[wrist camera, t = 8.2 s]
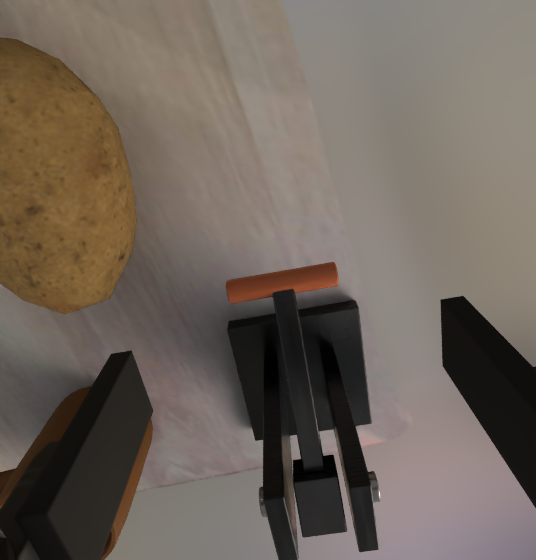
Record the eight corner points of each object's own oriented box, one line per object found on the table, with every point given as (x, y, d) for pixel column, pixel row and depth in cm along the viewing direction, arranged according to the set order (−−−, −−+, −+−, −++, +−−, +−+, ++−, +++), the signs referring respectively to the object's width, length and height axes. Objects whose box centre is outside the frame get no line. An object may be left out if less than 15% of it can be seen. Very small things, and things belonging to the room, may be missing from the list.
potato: (47, 291, 30) (-24, 356, 22) (-61, 70, 24) (-202, 59, 17) (183, 259, 29) (155, 314, 22) (102, 22, 24) (27, -11, 16)
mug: (28, 472, 36) (-47, 591, 28) (-12, 399, 33) (-110, 507, 25) (167, 450, 35) (135, 565, 27) (138, 373, 32) (92, 475, 24)
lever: (229, 279, 23) (222, 282, 21) (332, 261, 23) (337, 262, 20) (271, 513, 24) (269, 542, 21) (372, 499, 23) (381, 527, 21)
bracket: (228, 321, 31) (205, 461, 19) (355, 299, 30) (412, 431, 18) (255, 429, 35) (250, 602, 23) (368, 413, 34) (423, 581, 22)
